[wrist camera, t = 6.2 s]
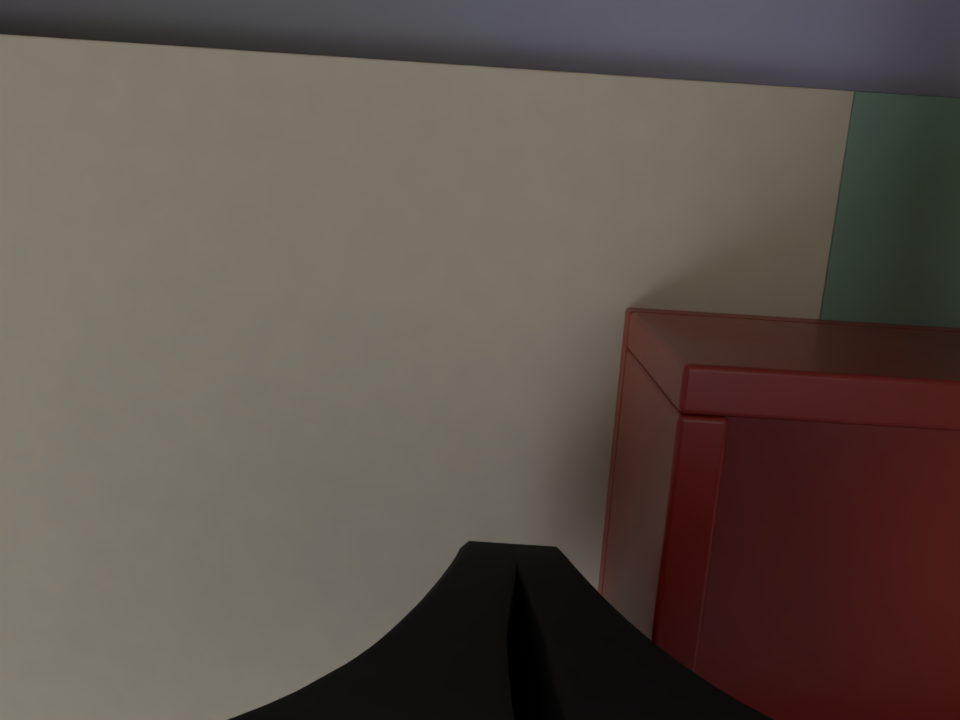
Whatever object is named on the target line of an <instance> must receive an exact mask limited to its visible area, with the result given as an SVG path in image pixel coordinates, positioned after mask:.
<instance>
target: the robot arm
mask: <svg viewBox="0 0 960 720" xmlns="http://www.w3.org/2000/svg"><path fill="white" fill-rule="evenodd" d="M228 720H774V719H772V718H770V717H768V716H766V715H764V714H762V713H761V712H759V711H757V710H755V709H753V708H751V707H750V706H748V705H746V704H744V703H742V702H740V701H738V700H737V699H735V698H733V697H732V696H730V695H728V694H727V693H725V692H723V691H722V690H720V689H718V688H717V687H715V686H714V685H712V684H711V683H709V682H708V681H706V680H705V679H703V678H702V677H700V676H699V675H697V674H696V673H694V672H693V671H691V670H690V669H689V668H687V667H686V666H684V665H683V664H681V663H680V662H678V661H677V660H676V659H674V658H673V657H672V656H670V655H669V654H668V653H666V652H665V651H664V650H662V649H661V648H660V647H658V646H657V645H656V644H655V643H654V642H653V641H651V640H650V639H649V638H648V637H647V636H645V635H644V634H643V633H642V632H641V631H640V630H638V629H637V628H636V627H635V626H634V625H632V624H631V623H630V622H629V621H628V620H627V619H626V618H625V617H624V616H623V615H622V614H620V613H619V612H618V611H617V610H616V609H615V608H614V607H613V606H612V605H611V604H610V603H609V602H608V601H607V600H606V599H605V598H604V597H603V596H602V595H601V594H600V593H599V592H598V591H597V590H596V589H595V588H594V587H593V586H592V585H591V584H590V583H589V582H588V580H587V579H586V578H585V577H584V576H583V575H582V574H581V573H580V572H579V571H578V570H577V568H576V567H575V566H574V565H573V564H572V563H571V562H570V561H569V559H568V558H567V557H566V556H565V555H564V554H563V553H562V552H561V551H560V550H559V549H558V548H557V547H555V546H540V545H525V544H509V543H494V542H479V541H468V542H467V543H466V544H464V545H463V546H462V547H461V548H460V549H459V551H458V553H457V555H456V557H455V558H454V560H453V561H452V563H451V564H450V566H449V567H448V568H447V570H446V571H445V572H444V574H443V575H442V576H441V578H440V579H439V580H438V581H437V582H436V584H435V585H434V586H433V587H432V588H431V589H430V591H429V592H428V593H427V594H426V595H425V596H424V598H423V599H422V600H421V601H420V602H419V603H418V604H417V605H416V606H415V607H414V608H413V609H412V610H411V611H410V612H409V613H408V614H407V615H406V616H405V617H404V618H403V619H402V620H401V621H400V622H399V623H398V624H396V625H395V626H394V627H393V628H392V629H391V630H390V631H389V632H388V633H387V634H386V635H384V636H383V637H382V638H381V639H380V640H378V641H377V642H376V643H375V644H374V645H372V646H371V647H370V648H368V649H367V650H366V651H364V652H363V653H361V654H360V655H358V656H357V657H356V658H354V659H353V660H351V661H349V662H348V663H346V664H345V665H343V666H341V667H339V668H337V669H336V670H334V671H332V672H330V673H328V674H327V675H325V676H323V677H321V678H319V679H318V680H316V681H314V682H312V683H310V684H309V685H307V686H305V687H303V688H301V689H300V690H298V691H295V692H293V693H291V694H289V695H287V696H285V697H282V698H280V699H278V700H276V701H273V702H271V703H269V704H267V705H264V706H262V707H259V708H257V709H254V710H251V711H249V712H246V713H244V714H241V715H238V716H236V717H233V718H230V719H228Z"/></svg>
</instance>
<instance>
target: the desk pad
mask: <svg viewBox="0 0 960 720" xmlns="http://www.w3.org/2000/svg"><path fill="white" fill-rule="evenodd" d="M629 307H630V308H646V309H662V310H678V311H694V312H710V313H726V314H742V315H758V316H773V317H789V318H805V319H821V320H837V321H853V322H869V323H885V324H901V325H917V326H933V327H949V328H960V98H952V97H937V96H922V95H907V94H892V93H877V92H862V91H855V92H854V91H847V90H832V89H817V88H802V87H787V86H772V85H757V84H742V83H727V82H713V81H698V80H683V79H668V78H653V77H638V76H623V75H608V74H593V73H578V72H563V71H548V70H533V69H518V68H503V67H488V66H473V65H458V64H443V63H428V62H413V61H398V60H383V59H368V58H353V57H338V56H323V55H308V54H293V53H278V52H264V51H249V50H234V49H219V48H204V47H189V46H174V45H159V44H144V43H129V42H114V41H99V40H84V39H69V38H54V37H39V36H24V35H9V34H0V720H228V719H230V718H233V717H236V716H238V715H241V714H244V713H246V712H249V711H251V710H254V709H257V708H259V707H262V706H264V705H267V704H269V703H271V702H273V701H276V700H278V699H280V698H282V697H285V696H287V695H289V694H291V693H293V692H295V691H298V690H300V689H301V688H303V687H305V686H307V685H309V684H310V683H312V682H314V681H316V680H318V679H319V678H321V677H323V676H325V675H327V674H328V673H330V672H332V671H334V670H336V669H337V668H339V667H341V666H343V665H345V664H346V663H348V662H349V661H351V660H353V659H354V658H356V657H357V656H358V655H360V654H361V653H363V652H364V651H366V650H367V649H368V648H370V647H371V646H372V645H374V644H375V643H376V642H377V641H378V640H380V639H381V638H382V637H383V636H384V635H386V634H387V633H388V632H389V631H390V630H391V629H392V628H393V627H394V626H395V625H396V624H398V623H399V622H400V621H401V620H402V619H403V618H404V617H405V616H406V615H407V614H408V613H409V612H410V611H411V610H412V609H413V608H414V607H415V606H416V605H417V604H418V603H419V602H420V601H421V600H422V599H423V598H424V596H425V595H426V594H427V593H428V592H429V591H430V589H431V588H432V587H433V586H434V585H435V584H436V582H437V581H438V580H439V579H440V578H441V576H442V575H443V574H444V572H445V571H446V570H447V568H448V567H449V566H450V564H451V563H452V561H453V560H454V558H455V557H456V555H457V553H458V551H459V549H460V548H461V547H462V546H463V545H464V544H466V543H467V542H468V541H479V542H494V543H509V544H525V545H540V546H555V547H557V548H558V549H559V550H560V551H561V552H562V553H563V554H564V555H565V556H566V557H567V558H568V559H569V561H570V562H571V563H572V564H573V565H574V566H575V567H576V568H577V570H578V571H579V572H580V573H581V574H582V575H583V576H584V577H585V578H586V579H587V580H588V582H589V583H590V584H591V585H592V586H593V587H594V588H595V589H596V590H597V591H598V583H599V573H600V562H601V552H602V542H603V532H604V522H605V512H606V502H607V492H608V482H609V472H610V462H611V452H612V442H613V432H614V421H615V411H616V401H617V391H618V381H619V371H620V361H621V351H622V341H623V331H624V321H625V311H626V309H627V308H629Z"/></svg>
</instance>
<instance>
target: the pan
mask: <svg viewBox="0 0 960 720" xmlns="http://www.w3.org/2000/svg"><path fill="white" fill-rule="evenodd" d="M598 592H599V593H600V594H601V595H602V596H603V597H604V598H605V599H606V600H607V601H608V602H609V603H610V604H611V605H612V606H613V607H614V608H615V609H616V610H617V611H618V612H619V613H620V614H622V615H623V616H624V617H625V618H626V619H627V620H628V621H629V622H630V623H631V624H632V625H634V626H635V627H636V628H637V629H638V630H640V631H641V632H642V633H643V634H644V635H645V636H647V637H648V638H649V639H650V640H651V641H653V642H654V643H655V644H656V645H657V646H658V647H660V648H661V649H662V650H664V651H665V652H666V653H668V654H669V655H670V656H672V657H673V658H674V659H676V660H677V661H678V662H680V663H681V664H683V665H684V666H686V667H687V668H689V669H690V670H691V671H693V672H694V673H696V674H697V675H699V676H700V677H702V678H703V679H705V680H706V681H708V682H709V683H711V684H712V685H714V686H715V687H717V688H718V689H720V690H722V691H723V692H725V693H727V694H728V695H730V696H732V697H733V698H735V699H737V700H738V701H740V702H742V703H744V704H746V705H748V706H750V707H751V708H753V709H755V710H757V711H759V712H761V713H762V714H764V715H766V716H768V717H770V718H772V719H774V720H960V328H949V327H933V326H917V325H901V324H885V323H869V322H853V321H837V320H821V319H805V318H789V317H773V316H758V315H742V314H726V313H710V312H694V311H678V310H662V309H646V308H630V307H629V308H627V309H626V311H625V321H624V331H623V341H622V351H621V361H620V371H619V381H618V391H617V401H616V411H615V421H614V432H613V442H612V452H611V462H610V472H609V482H608V492H607V502H606V512H605V522H604V532H603V542H602V552H601V562H600V573H599V583H598Z"/></svg>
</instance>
